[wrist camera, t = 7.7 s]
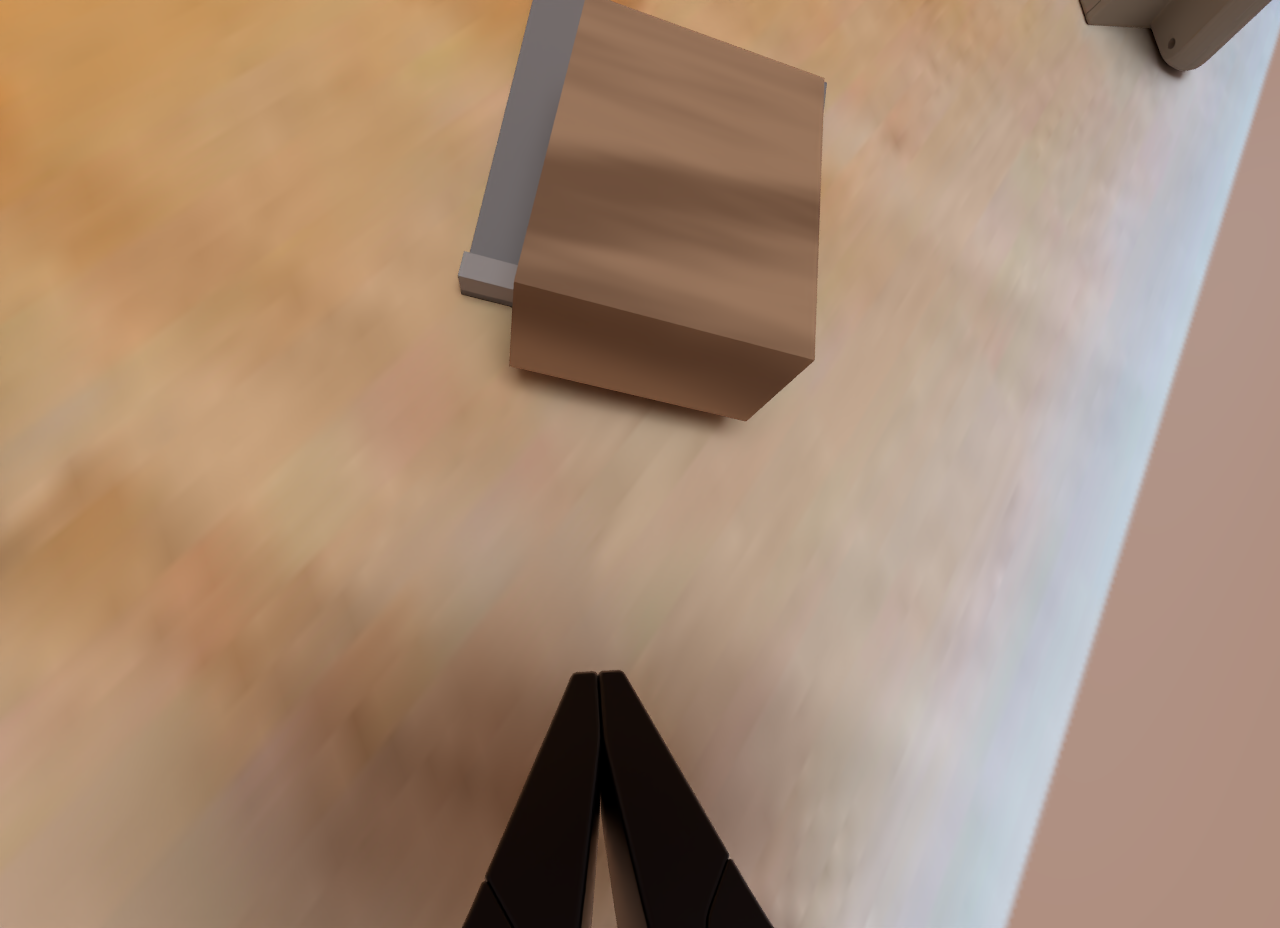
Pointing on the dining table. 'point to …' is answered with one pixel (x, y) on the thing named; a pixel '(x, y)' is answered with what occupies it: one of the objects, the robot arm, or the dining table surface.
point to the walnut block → (674, 220)
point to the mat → (521, 151)
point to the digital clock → (1178, 24)
